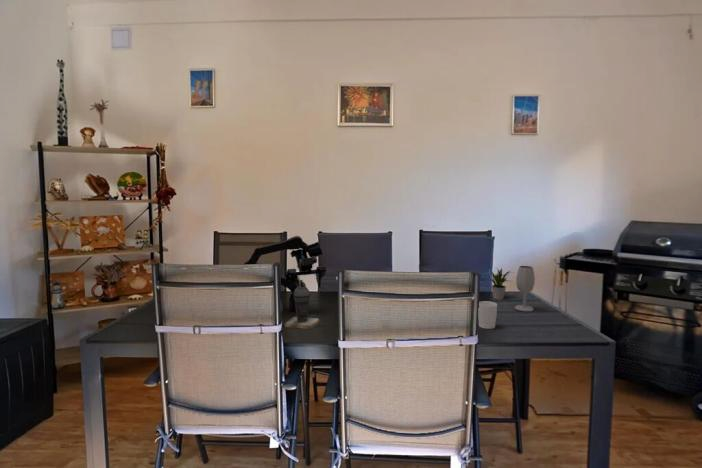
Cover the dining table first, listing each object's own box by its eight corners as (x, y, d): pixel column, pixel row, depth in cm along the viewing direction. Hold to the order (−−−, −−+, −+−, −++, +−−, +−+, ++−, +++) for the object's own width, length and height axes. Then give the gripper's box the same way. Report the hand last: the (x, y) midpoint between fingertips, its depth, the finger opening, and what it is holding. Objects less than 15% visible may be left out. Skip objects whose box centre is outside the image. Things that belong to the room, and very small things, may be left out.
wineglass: (514, 311, 212) (515, 267, 209) (514, 306, 220) (516, 264, 217) (533, 313, 209) (535, 269, 206) (533, 307, 217) (535, 265, 214)
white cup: (486, 330, 185) (487, 307, 184) (473, 325, 192) (474, 302, 191) (500, 327, 189) (501, 304, 188) (487, 322, 196) (487, 300, 195)
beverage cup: (307, 323, 190) (306, 278, 188) (291, 322, 192) (290, 277, 190) (312, 318, 198) (312, 274, 195) (297, 317, 199) (296, 273, 197)
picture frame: (285, 326, 192) (284, 323, 192) (294, 319, 201) (294, 316, 201) (311, 329, 189) (311, 325, 188) (319, 321, 198) (319, 318, 198)
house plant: (518, 302, 227) (519, 270, 225) (491, 302, 227) (492, 270, 225) (508, 294, 241) (510, 265, 239) (483, 295, 241) (484, 265, 239)
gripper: (286, 252, 203) (293, 280, 194) (324, 249, 210) (333, 276, 201) (282, 265, 211) (289, 294, 202) (319, 262, 218) (327, 289, 210)
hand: (310, 288), depth 204 cm, fingers open, 9 cm apart
